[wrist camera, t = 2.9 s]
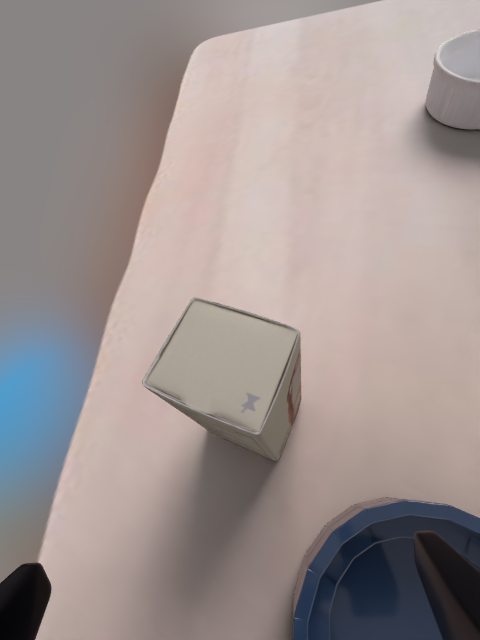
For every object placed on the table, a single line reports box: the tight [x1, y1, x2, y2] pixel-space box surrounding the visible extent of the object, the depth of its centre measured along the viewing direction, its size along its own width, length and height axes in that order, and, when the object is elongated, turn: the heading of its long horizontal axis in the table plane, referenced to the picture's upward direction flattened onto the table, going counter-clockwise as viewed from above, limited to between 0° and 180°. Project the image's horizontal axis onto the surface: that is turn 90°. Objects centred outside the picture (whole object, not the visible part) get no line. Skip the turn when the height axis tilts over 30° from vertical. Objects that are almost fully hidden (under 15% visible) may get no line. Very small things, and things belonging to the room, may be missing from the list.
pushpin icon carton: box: [142, 298, 301, 461], centre depth 17 cm, size 5×4×10 cm
